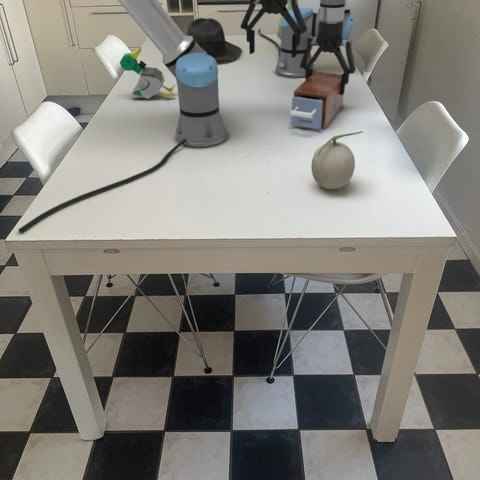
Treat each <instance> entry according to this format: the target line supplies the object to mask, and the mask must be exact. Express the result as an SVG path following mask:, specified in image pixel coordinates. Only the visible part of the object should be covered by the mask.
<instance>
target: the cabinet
mask: <svg viewBox="0 0 480 480" xmlns="http://www.w3.org/2000/svg"><path fill="white" fill-rule="evenodd" d="M341 78H342V74H340V73H331V72H322V71H321V72H320V71H314V73H313V74H312V75H311V76H310V77H309V78H308V79H306V80H304V81H303V82H302V83H301V84H300V85H299V86H298V87H296V89H295V90H294V91H293V97H298V96H299V95H303V96H310V97H318V98H324V103H323V116H322V123H321V129H320V130H325V129H326V128H327V126H328V125H329V124H330V123H331V122H332V120H333V119H334V118H335V117H336V116H337V114H338V113H339V111H340V110H341V109H342V108H343V104H344V95H345V92H344V93H343V95H340V89H341Z"/></svg>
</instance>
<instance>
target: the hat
mask: <svg viewBox="0 0 480 480" xmlns="http://www.w3.org/2000/svg"><path fill="white" fill-rule="evenodd" d="M186 36H192V37H193V38H194V40H195V41H196V42H197V44H198V45H199V46H200V47H201V48H202V49H203V50H204V51H205V52H206V53H207V54H208V55H210V56H212V57H213V58H214V59H215V60H216V62H218V61H234V60H235V59H237V58H238V56H239V55H240V53H241V52H242V51H243V49H242V48H241V47H239V46H238V45H236V44H233V43H231V42H229V41H227V40H226V37H225V32H224V28H223V26H222V24H221V22H219V20H217V19H215V18H212V17H209V18H205V17H198V18H196V19H193V20H191V22H190V23H189V24H188V27H187V32H186Z"/></svg>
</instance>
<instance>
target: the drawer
mask: <svg viewBox="0 0 480 480" xmlns="http://www.w3.org/2000/svg"><path fill="white" fill-rule="evenodd" d="M323 103H324V98H318V97H310V96H303V95H299V96H298V97H294V96H293V97H292V98H291V110H290V113H289V115H290V116H291V118H290V119H291V120H290V121H291V122H290V124H291V126H295V127H303V128H307V129H314V130H322V129H321V123H322V116H323Z"/></svg>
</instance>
